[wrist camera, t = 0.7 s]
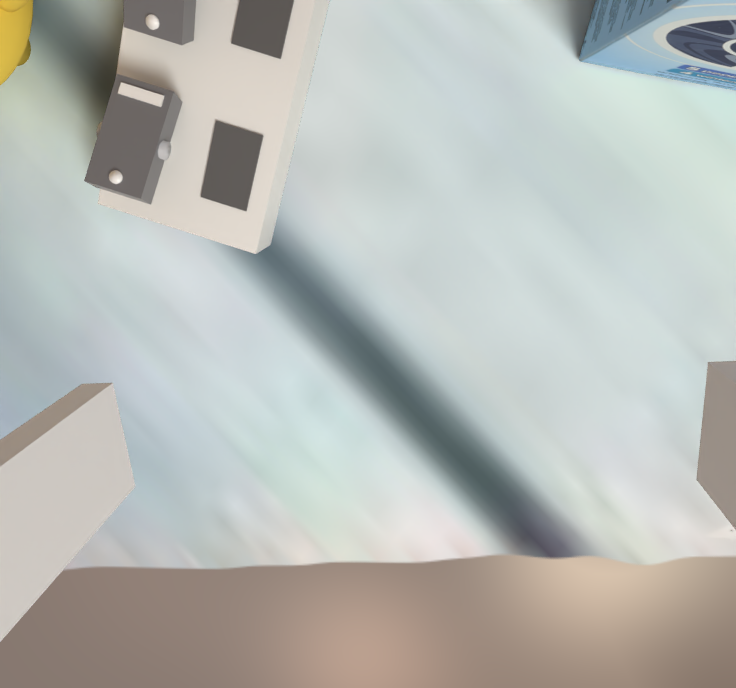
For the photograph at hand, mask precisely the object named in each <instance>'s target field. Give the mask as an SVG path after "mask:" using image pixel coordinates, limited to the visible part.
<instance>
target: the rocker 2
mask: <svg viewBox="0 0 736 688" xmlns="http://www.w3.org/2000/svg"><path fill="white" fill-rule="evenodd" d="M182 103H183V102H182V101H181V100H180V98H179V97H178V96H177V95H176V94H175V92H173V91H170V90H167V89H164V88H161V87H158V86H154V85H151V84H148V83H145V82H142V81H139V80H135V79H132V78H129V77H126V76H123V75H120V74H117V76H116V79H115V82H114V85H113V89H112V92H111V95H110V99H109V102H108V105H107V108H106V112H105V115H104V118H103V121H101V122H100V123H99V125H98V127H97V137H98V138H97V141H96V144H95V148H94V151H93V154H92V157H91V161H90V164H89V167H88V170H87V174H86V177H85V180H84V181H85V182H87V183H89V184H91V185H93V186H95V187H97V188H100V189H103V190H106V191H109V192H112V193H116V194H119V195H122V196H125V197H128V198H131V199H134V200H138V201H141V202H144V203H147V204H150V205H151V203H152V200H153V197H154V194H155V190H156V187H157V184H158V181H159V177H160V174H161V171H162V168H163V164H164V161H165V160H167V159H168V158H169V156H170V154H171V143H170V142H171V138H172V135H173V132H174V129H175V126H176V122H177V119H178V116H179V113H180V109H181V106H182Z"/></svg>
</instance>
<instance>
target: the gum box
mask: <svg viewBox="0 0 736 688" xmlns="http://www.w3.org/2000/svg"><path fill="white" fill-rule="evenodd" d="M579 61H580V62H587V63H592V64H597V65H602V66H607V67H612V68H617V69H622V70H627V71H632V72H637V73H642V74H648V75H654V76H659V77H665V78H670V79H675V80H681V81H686V82H692V83H698V84H704V85H710V86H715V87H721V88H726V89H732V90H736V0H596V1H595V5H594V8H593V12H592V15H591V19H590V22H589V25H588V29H587V32H586V36H585V39H584V43H583V46H582V50H581V53H580V57H579Z"/></svg>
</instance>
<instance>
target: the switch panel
mask: <svg viewBox="0 0 736 688" xmlns="http://www.w3.org/2000/svg"><path fill="white" fill-rule="evenodd" d="M329 2H330V0H196V12H195V29H194V41H191V42H189V43H187V44H184V45H179V44H176V43H172V42H169V41H166V40H163V39H160V38H156V37H153V36H150V35H147V34H144V33H141V32H137V31H134V30H131V29H128V28H125V27H124V24H123V31H122V38H121V45H120V52H119V59H118V66H117V73H116V76H117V74H120V75H123V76H126V77H129V78H132V79H135V80H139V81H142V82H145V83H148V84H151V85H154V86H158V87H161V88H164V89H167V90H170V91H173V92H175V94H176V95H177V96H178V97H179V98H180V100H181V101H182V102H183V103H182V106H181V109H180V113H179V116H178V119H177V122H176V126H175V129H174V132H173V135H172V138H171V142H170V143H171V154H170V156H169V158H168V159H167V160H165V161H164V164H163V168H162V171H161V174H160V177H159V181H158V184H157V187H156V190H155V194H154V197H153V200H152V203H151V205H150V204H147V203H144V202H141V201H138V200H134V199H131V198H128V197H125V196H122V195H119V194H116V193H112V192H109V191H106V190H103V189H100V193H99V200H98V204H100V205H103V206H106V207H110V208H113V209H116V210H119V211H122V212H125V213H128V214H132V215H135V216H138V217H141V218H144V219H147V220H151V221H154V222H157V223H160V224H163V225H166V226H169V227H173V228H176V229H179V230H182V231H185V232H188V233H192V234H195V235H198V236H201V237H204V238H207V239H210V240H214V241H217V242H220V243H223V244H226V245H229V246H232V247H236V248H239V249H242V250H245V251H248V252H251V253H255V254H256V253H258V252H260V251H261V250H263V249H264V248H266V247H268V246H269V245H271V241H272V237H273V233H274V229H275V225H276V220H277V216H278V212H279V208H280V204H281V200H282V196H283V192H284V188H285V183H286V179H287V175H288V171H289V167H290V163H291V159H292V155H293V150H294V146H295V142H296V138H297V134H298V130H299V126H300V122H301V118H302V113H303V109H304V105H305V101H306V97H307V93H308V89H309V85H310V81H311V76H312V72H313V68H314V64H315V60H316V56H317V52H318V48H319V43H320V39H321V35H322V31H323V27H324V23H325V19H326V15H327V11H328V6H329Z"/></svg>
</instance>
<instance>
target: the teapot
mask: <svg viewBox="0 0 736 688" xmlns="http://www.w3.org/2000/svg"><path fill="white" fill-rule="evenodd" d="M32 17H33V0H0V85H1V84H2V83H4V82H5V81H6V80H7V79H8V77H9V76H10V75H11V74H12V73H13V71H14V70H15V68H16V67H17V66H20V65H23V64H24V63H25V62H26V61H27V60H28V58H29V56H30V52H31V46H30V42H29V35H30V31H31V24H32Z"/></svg>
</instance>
